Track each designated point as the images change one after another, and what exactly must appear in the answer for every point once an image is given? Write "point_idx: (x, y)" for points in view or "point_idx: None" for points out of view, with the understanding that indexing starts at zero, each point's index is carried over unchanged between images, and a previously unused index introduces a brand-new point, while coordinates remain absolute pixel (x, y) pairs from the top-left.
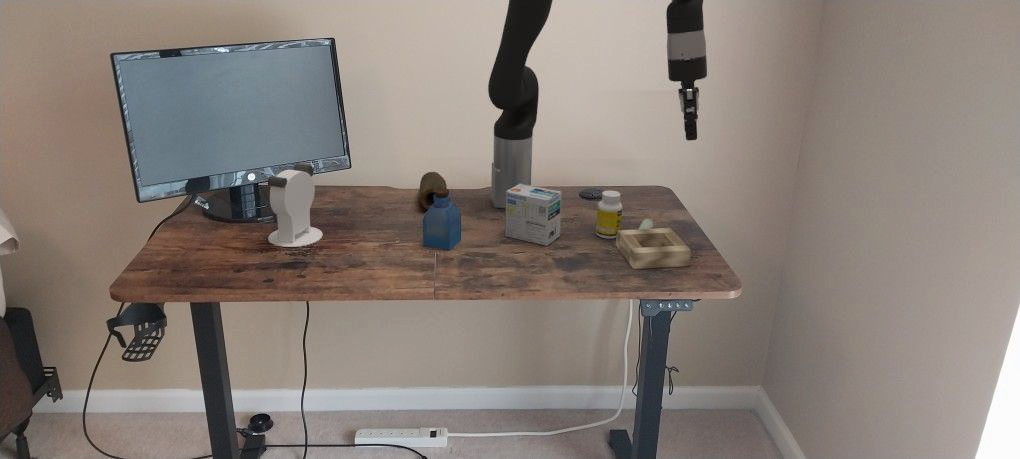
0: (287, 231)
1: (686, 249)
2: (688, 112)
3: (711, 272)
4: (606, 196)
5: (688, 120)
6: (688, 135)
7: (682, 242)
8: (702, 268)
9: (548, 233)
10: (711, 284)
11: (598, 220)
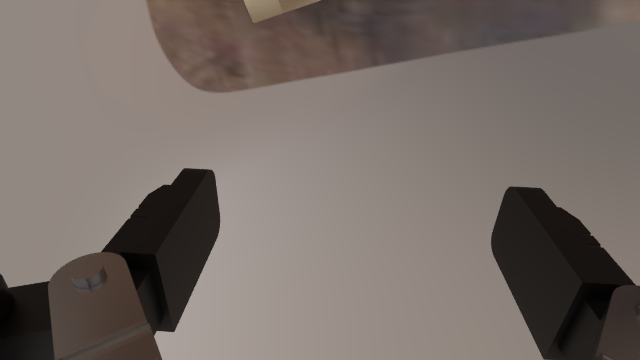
0: None
1: (254, 10)
2: (585, 337)
3: (245, 58)
4: None
5: (30, 294)
6: (147, 199)
7: (300, 2)
8: (260, 40)
9: None
10: (186, 51)
11: None
